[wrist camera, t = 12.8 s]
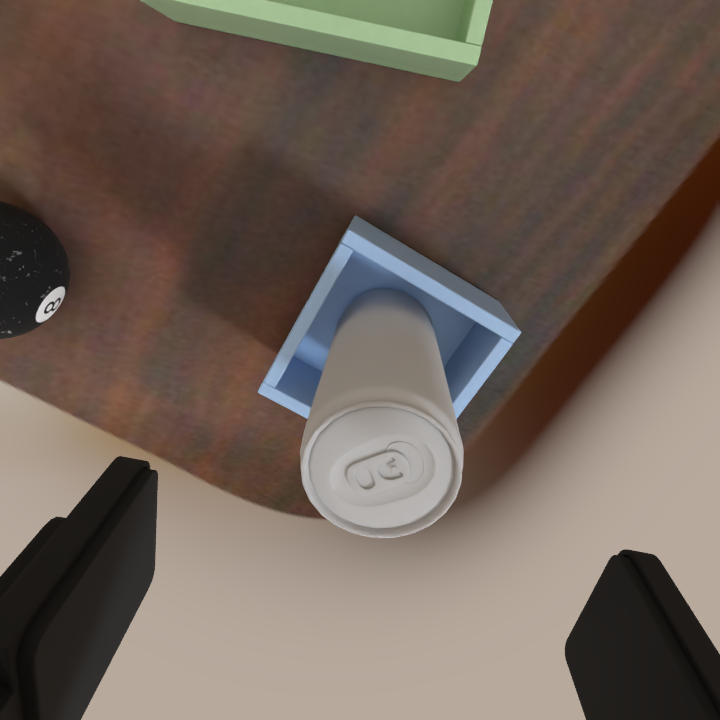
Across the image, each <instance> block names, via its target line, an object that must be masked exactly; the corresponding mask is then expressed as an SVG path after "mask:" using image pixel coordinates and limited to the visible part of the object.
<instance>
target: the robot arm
mask: <svg viewBox="0 0 720 720" xmlns="http://www.w3.org/2000/svg"><path fill="white" fill-rule="evenodd" d="M157 486H158V473H157V471H156V470H151V469H150V465H149V462H147V461H143V460H137V459H132V458H127V457H122V456H119V457H117V458H116V459H115V460H114V461H113V462H112V463H111V464H110V465H109V467H108V468H107V469H106V470H105V472H104V473H103V474H102V475H101V476H100V478H99V479H98V480H97V481H96V482H95V484H94V485H93V486H92V487H91V489H90V490H89V491H88V492H87V493H86V495H85V496H84V497H83V498H82V499H81V501H80V502H79V503H78V504H77V506H76V507H75V508H74V509H73V510H72V512H71V513H70V514H69V515H68V517H67V518H63V517H55V518H53V519H51V520H50V521H49V522H48V523H47V524H46V525H45V526H44V527H43V528H42V529H41V530H40V531H39V533H38V534H37V535H36V536H35V537H34V538H33V540H32V541H31V542H30V543H29V544H28V545H27V546H26V548H25V549H24V550H23V551H22V552H21V553H20V555H19V556H18V557H17V558H16V559H15V560H14V562H13V563H12V564H11V565H10V566H9V567H8V568H7V570H6V571H5V572H4V573H3V574H2V576H1V577H0V720H81V718H82V716H83V714H84V712H85V710H86V708H87V707H88V705H89V703H90V701H91V699H92V697H93V695H94V693H95V691H96V689H97V687H98V685H99V683H100V681H101V679H102V678H103V676H104V674H105V672H106V670H107V668H108V666H109V664H110V662H111V660H112V658H113V656H114V654H115V653H116V651H117V649H118V647H119V645H120V643H121V641H122V639H123V637H124V635H125V633H126V631H127V629H128V627H129V625H130V623H131V622H132V620H133V618H134V616H135V614H136V612H137V610H138V608H139V606H140V604H141V602H142V600H143V598H144V596H145V595H146V592H147V591H148V588H149V587H150V584H151V582H152V579H153V575H154V570H155V549H156V518H157V516H156V515H157ZM565 657H566V661H567V664H568V667H569V670H570V673H571V676H572V679H573V682H574V685H575V688H576V691H577V694H578V697H579V700H580V703H581V706H582V709H583V712H584V715H585V718H586V720H720V654H719V653H718V651H717V650H716V648H715V647H714V645H713V643H712V642H711V640H710V638H709V637H708V635H707V634H706V632H705V631H704V629H703V627H702V626H701V624H700V623H699V621H698V620H697V618H696V616H695V615H694V613H693V612H692V610H691V609H690V607H689V605H688V604H687V602H686V601H685V599H684V598H683V596H682V594H681V593H680V591H679V590H678V588H677V587H676V585H675V583H674V582H673V580H672V579H671V577H670V576H669V574H668V572H667V571H666V569H665V568H664V566H663V565H662V563H661V561H660V560H659V559H658V558H657V557H656V556H655V555H653V554H648V553H643V552H637V551H632V550H622V551H620V553H619V554H618V555H614V556H612V557H611V558H610V560H609V562H608V564H607V565H606V567H605V569H604V571H603V573H602V575H601V577H600V578H599V580H598V582H597V584H596V586H595V588H594V590H593V592H592V594H591V596H590V597H589V599H588V601H587V603H586V605H585V607H584V609H583V611H582V612H581V614H580V616H579V618H578V620H577V622H576V624H575V626H574V627H573V629H572V631H571V633H570V635H569V637H568V639H567V641H566V645H565Z"/></svg>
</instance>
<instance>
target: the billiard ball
mask: <svg viewBox="0 0 720 720" xmlns="http://www.w3.org/2000/svg"><path fill="white" fill-rule="evenodd" d="M69 277H70V270H69V262H68V258H67V255H66V252H65V250H64V248H63V246H62V244H61V242H60V241H59V239H58V238H57V237H56V235H55V234H54V233H53V232H52V231H51V230H50V229H49V228H48V227H47V226H46V225H45V224H44V223H43V222H42V221H40V220H39V219H38V218H36V217H35V216H33V215H32V214H30V213H28V212H26V211H25V210H23V209H20V208H18V207H16V206H13V205H11V204H8V203H5V202H1V201H0V339H4V338H11V337H15V336H19V335H22V334H25V333H27V332H30V331H32V330H33V329H35V328H37V327H39V326H40V325H41V324H43V323H44V322H45V321H47V320H48V319H49V318H50V317H51V316H52V315H53V314H54V313H55V311H56V310H57V309H58V307H59V306H60V304H61V303H62V301H63V299H64V297H65V295H66V292H67V289H68V285H69Z"/></svg>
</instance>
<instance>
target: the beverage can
mask: <svg viewBox="0 0 720 720" xmlns="http://www.w3.org/2000/svg"><path fill="white" fill-rule="evenodd" d="M300 457H301V465H300V466H301V475H302V484H303V486H304V488H305V491H306V493H307V495H308V498H309V500H310V501H311V503H312V504H313V505H314V506H315V508H316V509H317V510H318V511H319V512H320V514H321V515H322V516H324V517H325V518H326V519H328V520H329V521H330V522H332V523H333V524H335V525H336V526H338V527H340V528H342V529H344V530H347V531H349V532H351V533H354V534H357V535H362V536H367V537H372V538H394V537H399V536H404V535H409V534H413V533H415V532H417V531H419V530H422V529H424V528H426V527H428V526H430V525H431V524H432V523H434V522H435V521H436V520H438V519H439V518H440V517H441V516H443V515H444V514H445V513H446V511H447V510H448V509H449V507H450V506H451V504H452V503H453V502H454V500H455V499H456V496H457V493H458V491H459V488H460V485H461V482H462V469H463V445H462V441H461V437H460V433H459V429H458V424H457V420H456V416H455V412H454V408H453V404H452V400H451V396H450V392H449V388H448V384H447V380H446V376H445V372H444V368H443V364H442V360H441V356H440V352H439V348H438V344H437V340H436V336H435V332H434V328H433V324H432V321H431V317H430V316H429V314H428V312H427V311H426V309H425V308H424V306H423V305H422V304H421V303H419V302H418V301H417V300H416V299H415V298H414V297H412V296H410V295H408V294H406V293H404V292H402V291H398V290H393V289H375V290H372V291H369V292H366V293H363V294H361V295H360V296H359V297H357V298H356V299H355V300H353V301H352V302H351V303H350V304H349V306H348V307H347V308H346V309H345V310H344V312H343V313H342V315H341V317H340V319H339V320H338V323H337V326H336V330H335V333H334V336H333V340H332V343H331V347H330V350H329V353H328V357H327V360H326V363H325V366H324V369H323V372H322V375H321V379H320V382H319V385H318V388H317V391H316V394H315V397H314V400H313V403H312V407H311V410H310V413H309V416H308V420H307V423H306V426H305V430H304V434H303V439H302V444H301V449H300Z"/></svg>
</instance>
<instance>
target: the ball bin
mask: <svg viewBox="0 0 720 720" xmlns="http://www.w3.org/2000/svg"><path fill="white" fill-rule="evenodd" d="M140 1H142V2H144V3H145V4H147V5H149V6H150V7H152V8H154V9H155V10H157V11H159V12H160V13H162V14H164V15H165V16H167V17H169V18H171V19H172V20H174V21H176V22H180V23H185V24H190V25H194V26H199V27H204V28H209V29H213V30H218V31H223V32H227V33H232V34H237V35H241V36H246V37H251V38H255V39H260V40H265V41H269V42H274V43H279V44H283V45H288V46H293V47H297V48H302V49H307V50H311V51H316V52H321V53H326V54H330V55H335V56H340V57H344V58H349V59H354V60H358V61H363V62H368V63H372V64H377V65H382V66H386V67H391V68H396V69H400V70H405V71H410V72H414V73H419V74H424V75H428V76H433V77H438V78H442V79H447V80H452V81H457V82H460V81H461V80H462V79H463V78H464V77H465V76H466V75H467V74H468V73H469V72H470V71H471V70H473V69H474V68H475V67H476V66H477V64H478V60H479V56H480V51H481V45H482V43H483V39H484V35H485V31H486V27H487V23H488V19H489V15H490V11H491V6H492V2H493V0H140Z"/></svg>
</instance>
